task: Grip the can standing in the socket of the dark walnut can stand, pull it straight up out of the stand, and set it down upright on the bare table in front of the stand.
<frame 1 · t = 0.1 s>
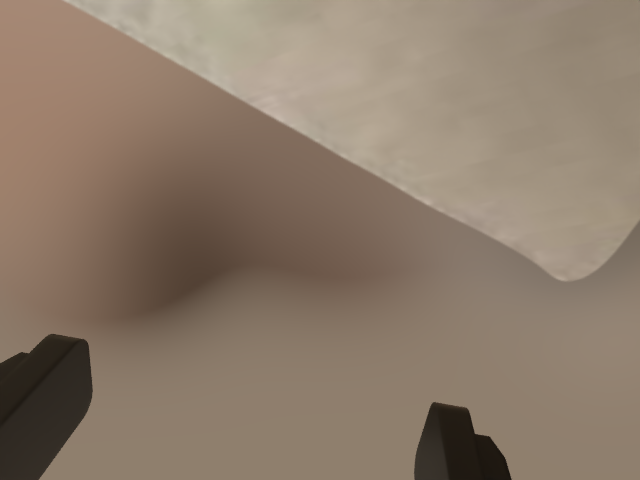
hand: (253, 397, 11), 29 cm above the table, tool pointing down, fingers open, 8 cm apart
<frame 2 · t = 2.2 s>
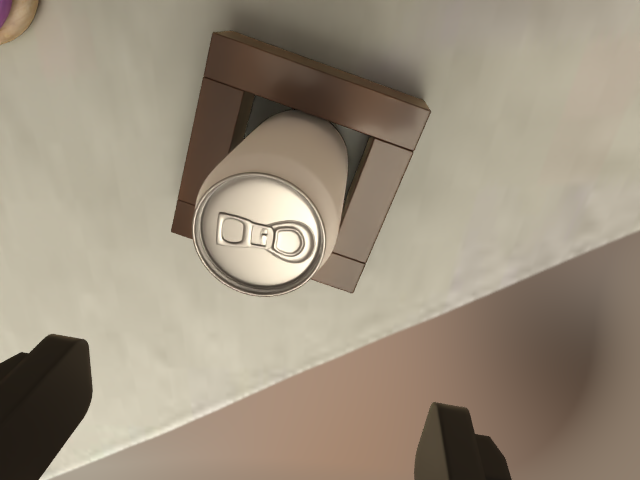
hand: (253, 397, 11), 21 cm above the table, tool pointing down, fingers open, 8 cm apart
can stand: (298, 160, 31), on the table
can: (298, 159, 31), resting in can stand
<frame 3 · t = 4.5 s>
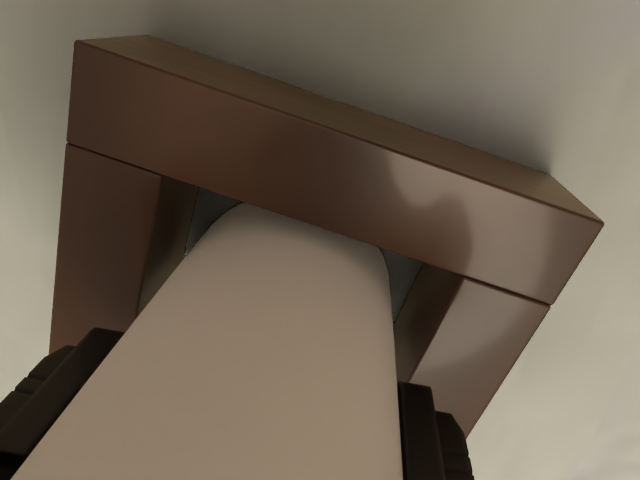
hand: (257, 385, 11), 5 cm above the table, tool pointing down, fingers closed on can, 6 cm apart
can stand: (292, 281, 16), on the table
can: (293, 278, 16), resting in can stand, touching gripper
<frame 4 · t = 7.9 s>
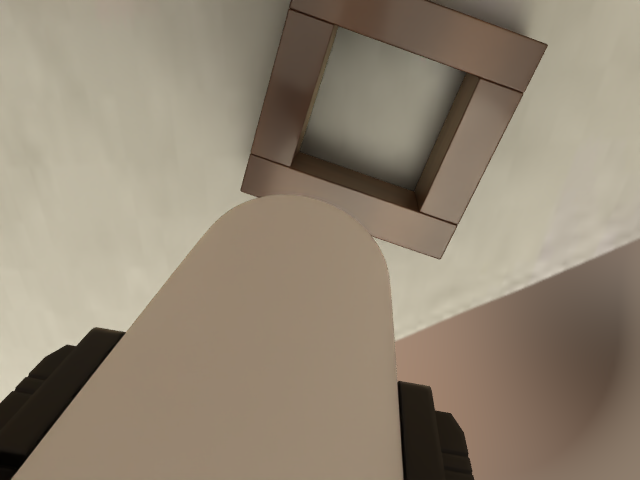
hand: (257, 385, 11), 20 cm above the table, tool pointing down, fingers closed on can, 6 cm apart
can stand: (378, 112, 28), on the table
can: (293, 278, 16), point 14 cm above the table, touching gripper
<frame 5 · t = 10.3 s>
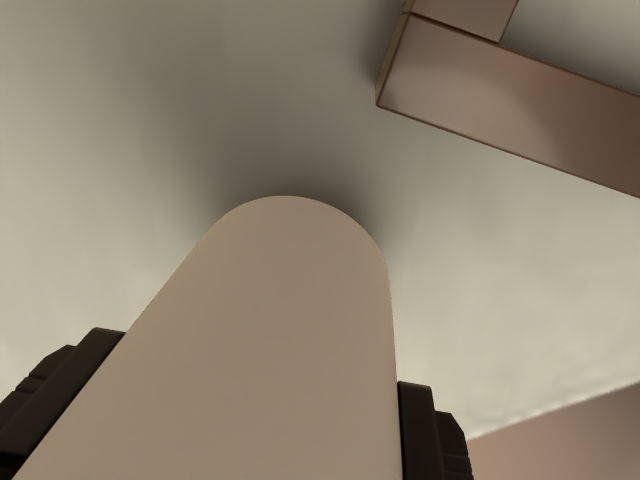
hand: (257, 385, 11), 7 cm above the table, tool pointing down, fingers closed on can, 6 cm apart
can: (293, 279, 16), point 2 cm above the table, touching gripper
when the fingers open (5 cm above the table, at t = 11.7 s): can stays where it is, on the table.
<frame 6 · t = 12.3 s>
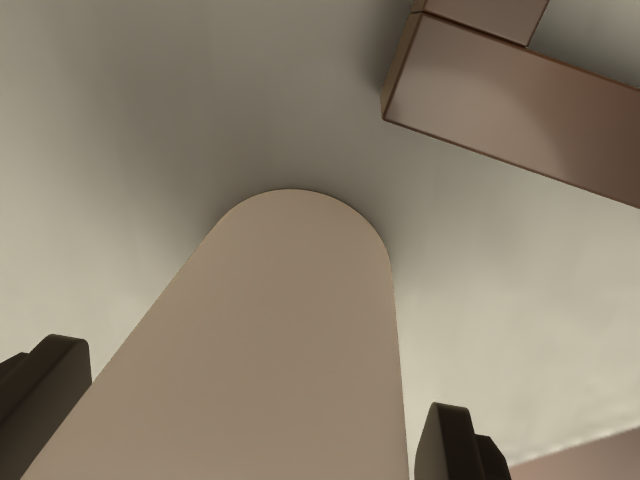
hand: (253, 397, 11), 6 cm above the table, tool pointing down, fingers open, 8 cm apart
can: (298, 271, 17), on the table
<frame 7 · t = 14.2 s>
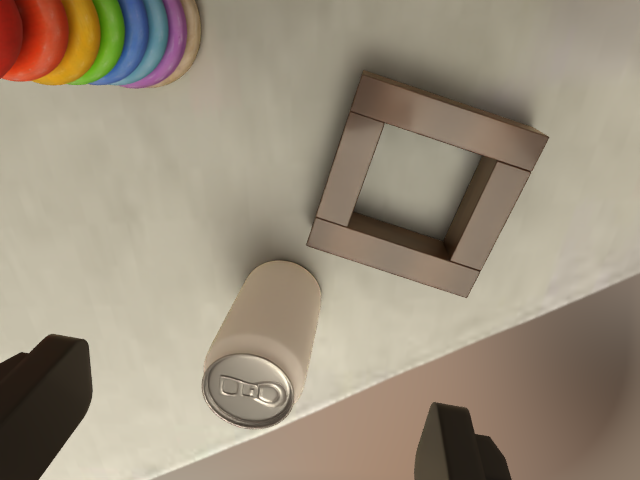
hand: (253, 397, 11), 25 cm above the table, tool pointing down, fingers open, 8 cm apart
stacking toy: (148, 24, 32), on the table
can stand: (414, 180, 34), on the table
can: (283, 292, 40), on the table
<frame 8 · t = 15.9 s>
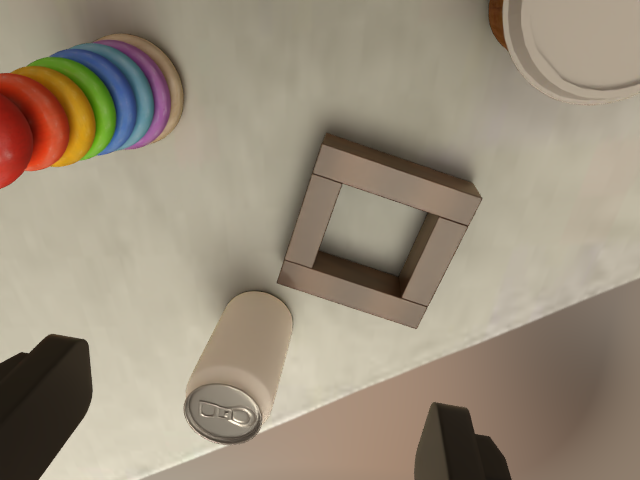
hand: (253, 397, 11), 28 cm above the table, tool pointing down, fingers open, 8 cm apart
stacking toy: (137, 89, 37), on the table
disposable coffee cup: (536, 4, 32), on the table
can stand: (372, 225, 39), on the table
can: (259, 317, 44), on the table
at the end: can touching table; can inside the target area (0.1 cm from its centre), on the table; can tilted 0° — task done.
